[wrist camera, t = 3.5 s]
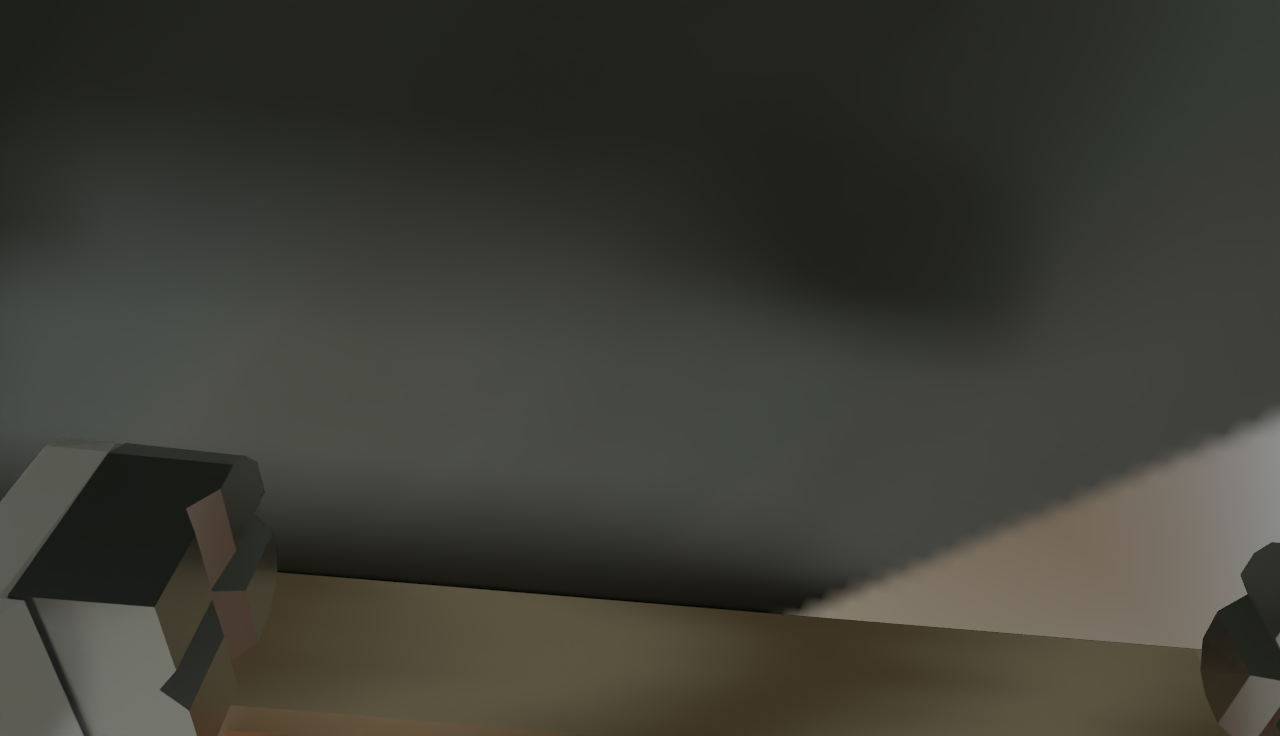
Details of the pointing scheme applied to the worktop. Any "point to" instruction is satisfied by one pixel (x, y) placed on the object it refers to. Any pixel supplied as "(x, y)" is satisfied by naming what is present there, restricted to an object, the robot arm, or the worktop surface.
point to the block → (250, 733)
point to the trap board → (678, 672)
